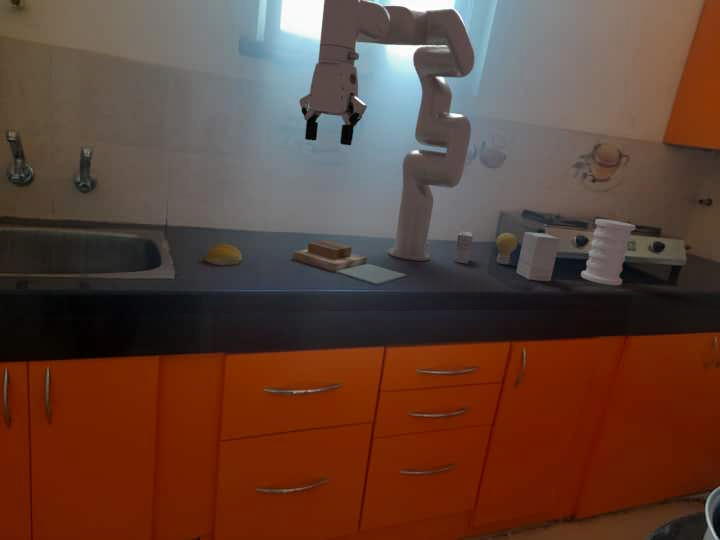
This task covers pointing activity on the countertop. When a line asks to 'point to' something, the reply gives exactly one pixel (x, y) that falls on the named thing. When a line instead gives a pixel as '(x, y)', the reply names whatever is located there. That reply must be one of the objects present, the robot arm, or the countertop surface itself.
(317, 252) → the walnut tile
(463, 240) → the medicine box
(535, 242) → the supplement box
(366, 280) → the teal mat
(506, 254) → the light bulb
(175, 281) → the countertop surface
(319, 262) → the ash deck
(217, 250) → the bread roll
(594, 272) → the decorative container
